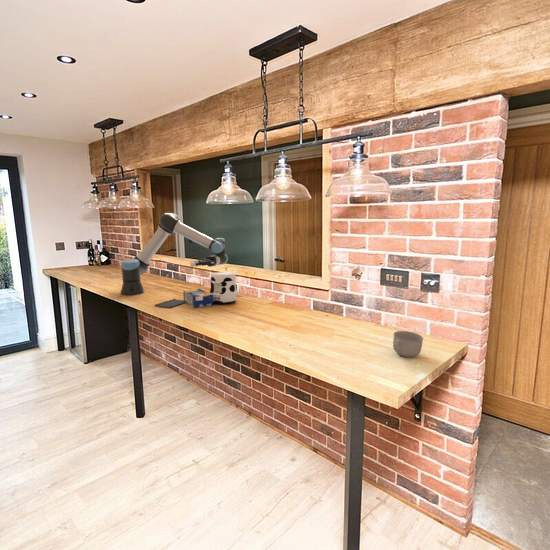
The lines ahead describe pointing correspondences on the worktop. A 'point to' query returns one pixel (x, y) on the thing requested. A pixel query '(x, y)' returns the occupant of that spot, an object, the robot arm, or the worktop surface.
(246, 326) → the worktop surface
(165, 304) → the bar mat
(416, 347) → the teacup
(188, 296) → the beverage box
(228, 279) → the milk container
